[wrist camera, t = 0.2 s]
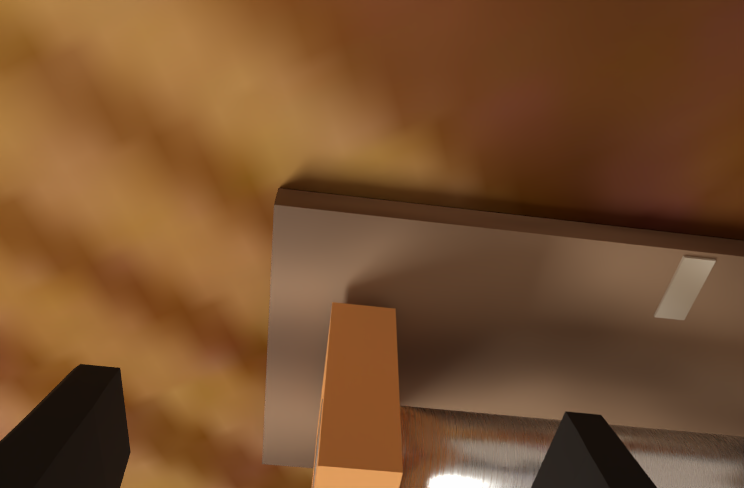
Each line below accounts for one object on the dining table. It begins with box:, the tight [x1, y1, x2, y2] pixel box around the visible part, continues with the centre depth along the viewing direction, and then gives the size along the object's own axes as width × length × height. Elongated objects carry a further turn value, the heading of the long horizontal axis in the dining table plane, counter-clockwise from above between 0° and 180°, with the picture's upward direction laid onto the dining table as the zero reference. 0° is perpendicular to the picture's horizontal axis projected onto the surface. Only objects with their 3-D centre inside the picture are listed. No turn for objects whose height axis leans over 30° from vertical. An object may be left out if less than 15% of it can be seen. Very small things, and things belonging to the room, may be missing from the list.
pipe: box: [313, 399, 744, 488], centre depth 19 cm, size 3×18×3 cm, turn 83°
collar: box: [312, 302, 403, 488], centre depth 19 cm, size 6×2×6 cm, turn 173°
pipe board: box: [262, 188, 744, 468], centre depth 20 cm, size 12×24×8 cm, turn 83°
